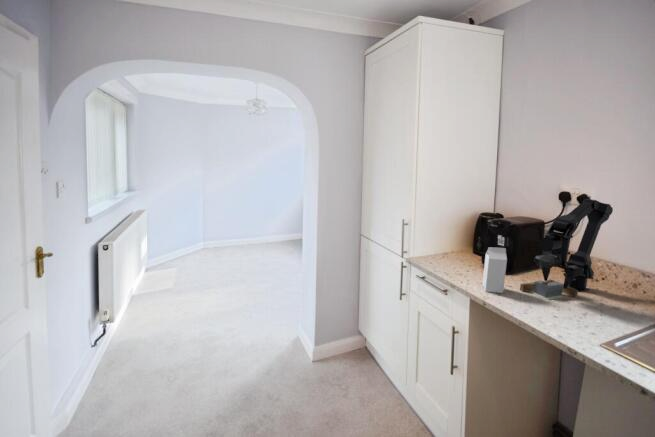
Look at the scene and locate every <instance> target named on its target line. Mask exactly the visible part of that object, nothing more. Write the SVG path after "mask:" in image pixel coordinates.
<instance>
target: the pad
mask: <svg viewBox="0 0 655 437" xmlns="http://www.w3.org/2000/svg"><path fill="white" fill-rule="evenodd" d="M529 292H531V293H533V294H535V295H537V296H540V297H542V298H544V299H546V300H555V299H561V298H565V296H563V295H560V296H553V297H547V298H545V297H543V296H541V295H538V294H536V293H534V290H530V291H529Z"/></svg>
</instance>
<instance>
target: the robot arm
mask: <svg viewBox="0 0 655 437" xmlns="http://www.w3.org/2000/svg"><path fill="white" fill-rule="evenodd" d="M613 208H614V207H612V206H611V204H610V203H604V202H600V201H598V200H596V199H590V198H584V199H583V200H582V201H581V203H579V205H578V206H576V207H575V208H574V209H572V211H570V212H569V213H568V214H564V215H560V216H558V217H556V218H555V219H554V220H553V221H552V223H551V224H550V227H549V228H548V229H547V231H546V234H545V236H544V237H543V238H541V239H539V241H538V242H539V243H538V246H539V248H540V249H541V250H542V251H543V252H546V253H547V252H548V253H547V254H541V255H536V256H535V257H534V259H533V260H534V262H533V263H536V266H538V267H539V268H540V269H541V272H542V276H543V281H547V280H549V279H548V278H549V276H550V273H551V269H552V268H553V267H554V268H556V267H557V268H559V269H562V270H564V271H563V272H564V273H563V276H564V282H563V284H564V289H565V288H567V287H568V286H569V287H571V288H574V289H576V290H578V292H585V291H590V288H588V287H587V286H588V279H590V280H591V279H593V277H594V274H595V272H594V270H593V267H592V264H593V263H592V258H591V256H590V255H591V254H592V252H593V249H594V245H595V242H596V240H597V237H598V235H599V231H600V230H601V226H602V225H603V224H604V223H605V222H607V221H609V218H610V216H611V215H612V214H613V211H614V209H613ZM585 217H587V220H588V221H587V224H586V227H585V230H584V231H583V234H582V237H581V239H580V243H579V245H578V248H577V251H576V252H574V253H571V251H569V248H570V241H571V239H572V238H574V236H573V233H574V232H575V231H576V230H577V228H578V224H579V222H581V221H582V220H583V219H584V218H585ZM568 257H569V258H568Z"/></svg>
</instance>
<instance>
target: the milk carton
mask: <svg viewBox="0 0 655 437" xmlns="http://www.w3.org/2000/svg"><path fill="white" fill-rule="evenodd" d="M507 263H508V257H507V248H505V247H492V246H491V247H490V246H489V247H487V250H486V252H485V256H484V266H483V275H482V288H483V289H484V291H485V292H486V293H496V292H497V294H499V293H500V294H503V293H504V288H505V279H506V272H507Z"/></svg>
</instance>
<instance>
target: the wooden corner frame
mask: <svg viewBox="0 0 655 437" xmlns="http://www.w3.org/2000/svg"><path fill="white" fill-rule="evenodd" d="M542 281H543V282H545V283H550V282H557V281H556V280H553V279H547V281H545V280H542ZM534 284H535V281H532V282H531V281H530V282H525V283H520V284H519V291H520V292H522V293H523V292H530V291H534ZM562 284H563V290H562V294H566V295H567V296H570V297H572V298H577V297H578V293H579V291H578V290H576V289H574V288H571V287H569V286H568V287H567V288H565V289H564V283H562Z"/></svg>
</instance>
